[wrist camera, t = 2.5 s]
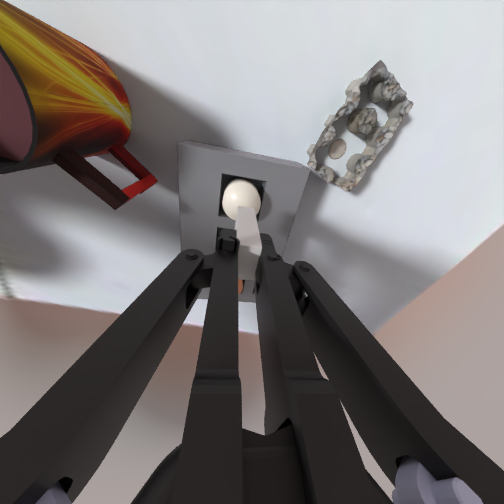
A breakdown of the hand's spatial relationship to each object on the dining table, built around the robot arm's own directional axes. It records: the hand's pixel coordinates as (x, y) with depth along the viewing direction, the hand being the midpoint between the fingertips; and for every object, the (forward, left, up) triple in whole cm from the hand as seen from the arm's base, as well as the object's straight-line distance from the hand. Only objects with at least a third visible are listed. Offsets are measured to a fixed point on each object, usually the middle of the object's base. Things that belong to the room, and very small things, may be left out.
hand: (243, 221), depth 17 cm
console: (0, -6, -11) cm, 12 cm away
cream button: (0, 0, -7) cm, 7 cm away
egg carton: (+12, +9, -11) cm, 18 cm away
